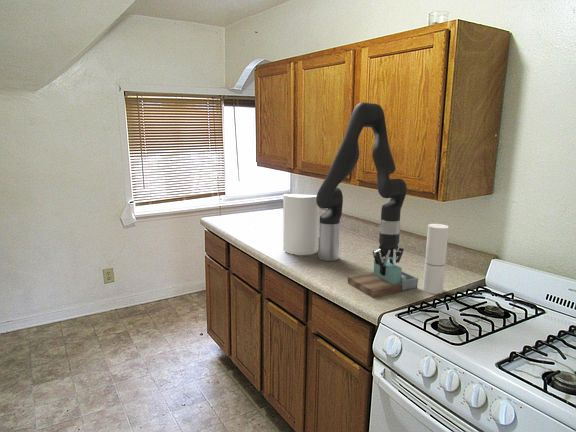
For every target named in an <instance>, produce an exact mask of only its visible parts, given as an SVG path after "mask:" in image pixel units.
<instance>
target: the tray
mask: <svg viewBox="0 0 576 432" xmlns="http://www.w3.org/2000/svg"><path fill="white" fill-rule="evenodd" d="M401 274H402V275H404V276H406V280H403V281H401V284H400V285H401V292H406V291H410V290H417V289H418V285H419V283H418V282H419V278H418V277H416V276H414V275H412V274H409V273H408V272H405V271H403V270H402V273H401Z"/></svg>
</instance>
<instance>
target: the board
mask: <svg viewBox="0 0 576 432" xmlns="http://www.w3.org/2000/svg"><path fill="white" fill-rule="evenodd" d="M373 273H374V271H373V272H369V273H368V272H367V273H362V274H357V275H350V276H347V284H349V285H350V286H352V287H353V288H356V289H357V290H359V291H361V292H363V294H364V293H365V294H366V295H367V296H370V297H371V298H372V299H373V298H378V297H384V296H387V295H392V294H396V293H397V294H398V293H401V292H402V291H401V285H400V284H392V283H390V282H388V281H386V280H384V279H382V278H380V277H378V276H376V275H374V274H373Z"/></svg>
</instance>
